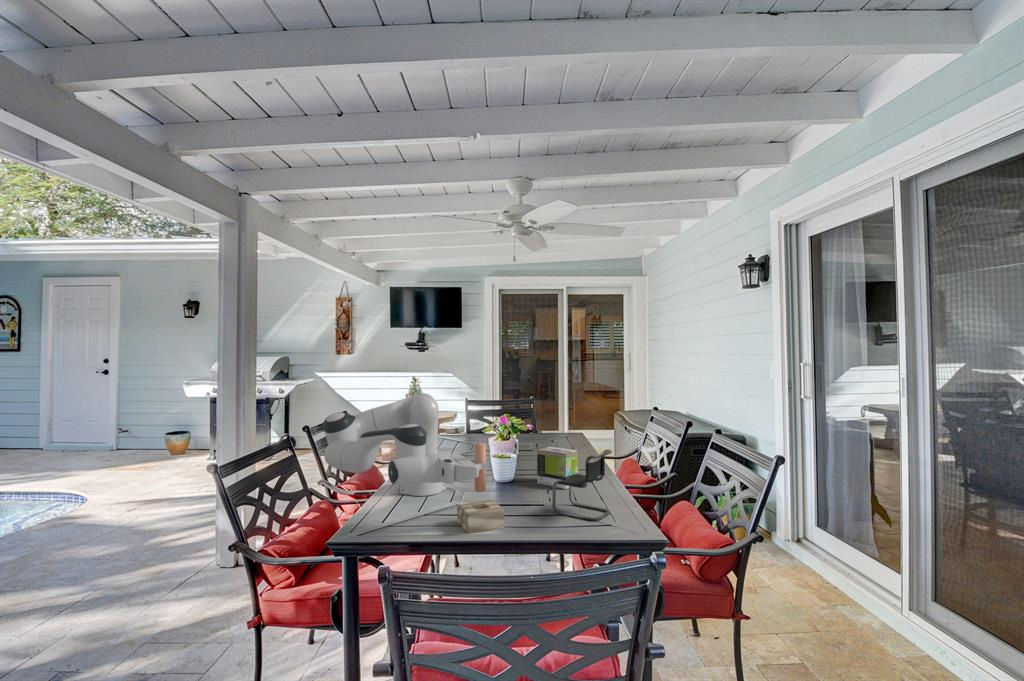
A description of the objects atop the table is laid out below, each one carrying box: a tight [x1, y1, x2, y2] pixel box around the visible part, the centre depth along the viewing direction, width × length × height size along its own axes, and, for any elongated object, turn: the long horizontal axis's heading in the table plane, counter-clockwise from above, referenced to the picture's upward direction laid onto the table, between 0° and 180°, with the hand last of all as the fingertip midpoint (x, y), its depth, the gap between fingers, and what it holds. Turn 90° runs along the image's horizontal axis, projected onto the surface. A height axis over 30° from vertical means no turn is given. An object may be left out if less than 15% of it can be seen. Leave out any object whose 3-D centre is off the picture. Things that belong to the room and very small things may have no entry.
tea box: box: [536, 446, 579, 490], centre depth 219 cm, size 15×10×15 cm, turn 49°
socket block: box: [456, 499, 505, 534], centre depth 168 cm, size 12×12×6 cm
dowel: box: [474, 442, 487, 493], centre depth 169 cm, size 4×4×15 cm
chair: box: [552, 449, 613, 522], centre depth 181 cm, size 13×17×22 cm
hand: (482, 463), depth 169 cm, fingers closed on dowel, 4 cm apart
